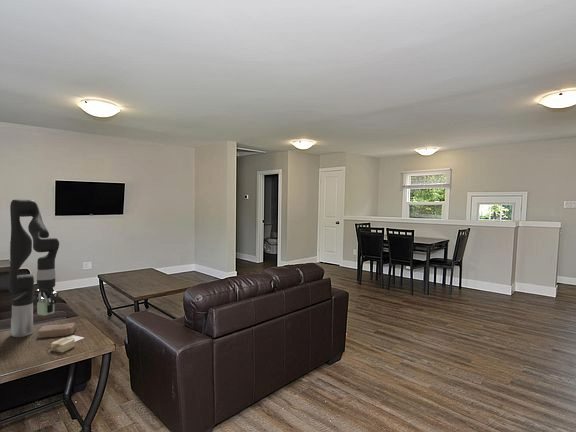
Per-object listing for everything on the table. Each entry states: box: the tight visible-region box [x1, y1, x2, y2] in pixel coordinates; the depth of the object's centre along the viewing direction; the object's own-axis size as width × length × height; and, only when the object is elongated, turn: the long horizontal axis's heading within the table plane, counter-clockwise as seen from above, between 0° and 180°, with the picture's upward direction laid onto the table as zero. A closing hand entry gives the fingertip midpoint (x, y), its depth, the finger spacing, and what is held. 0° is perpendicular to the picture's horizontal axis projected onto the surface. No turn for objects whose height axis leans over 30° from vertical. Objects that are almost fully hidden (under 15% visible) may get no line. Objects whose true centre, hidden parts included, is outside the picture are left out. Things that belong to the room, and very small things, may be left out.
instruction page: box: [65, 334, 85, 343], centre depth 180 cm, size 9×9×1 cm
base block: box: [50, 337, 76, 353], centre depth 170 cm, size 7×7×4 cm
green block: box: [36, 300, 55, 316], centre depth 166 cm, size 5×5×6 cm
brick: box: [37, 322, 77, 339], centre depth 188 cm, size 17×8×5 cm, turn 111°
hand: (46, 311), depth 166 cm, fingers closed on green block, 5 cm apart
